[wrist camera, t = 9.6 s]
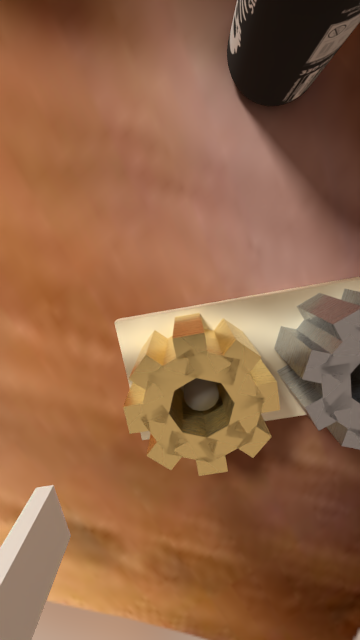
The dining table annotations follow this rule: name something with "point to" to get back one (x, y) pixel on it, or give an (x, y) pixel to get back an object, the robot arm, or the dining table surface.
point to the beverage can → (285, 44)
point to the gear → (326, 364)
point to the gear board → (247, 315)
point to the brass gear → (192, 425)
